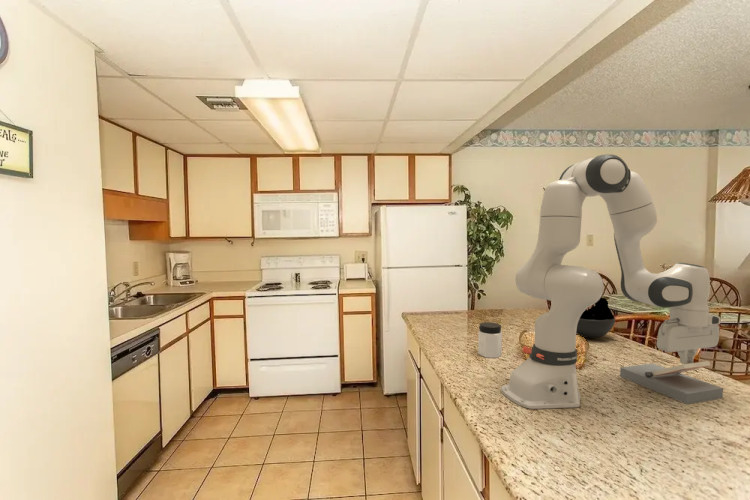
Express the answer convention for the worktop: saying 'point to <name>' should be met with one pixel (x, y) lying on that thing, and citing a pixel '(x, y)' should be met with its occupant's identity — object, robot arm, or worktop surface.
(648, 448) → the worktop surface
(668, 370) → the tile
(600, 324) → the coal bowl
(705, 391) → the stand
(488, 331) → the jar
